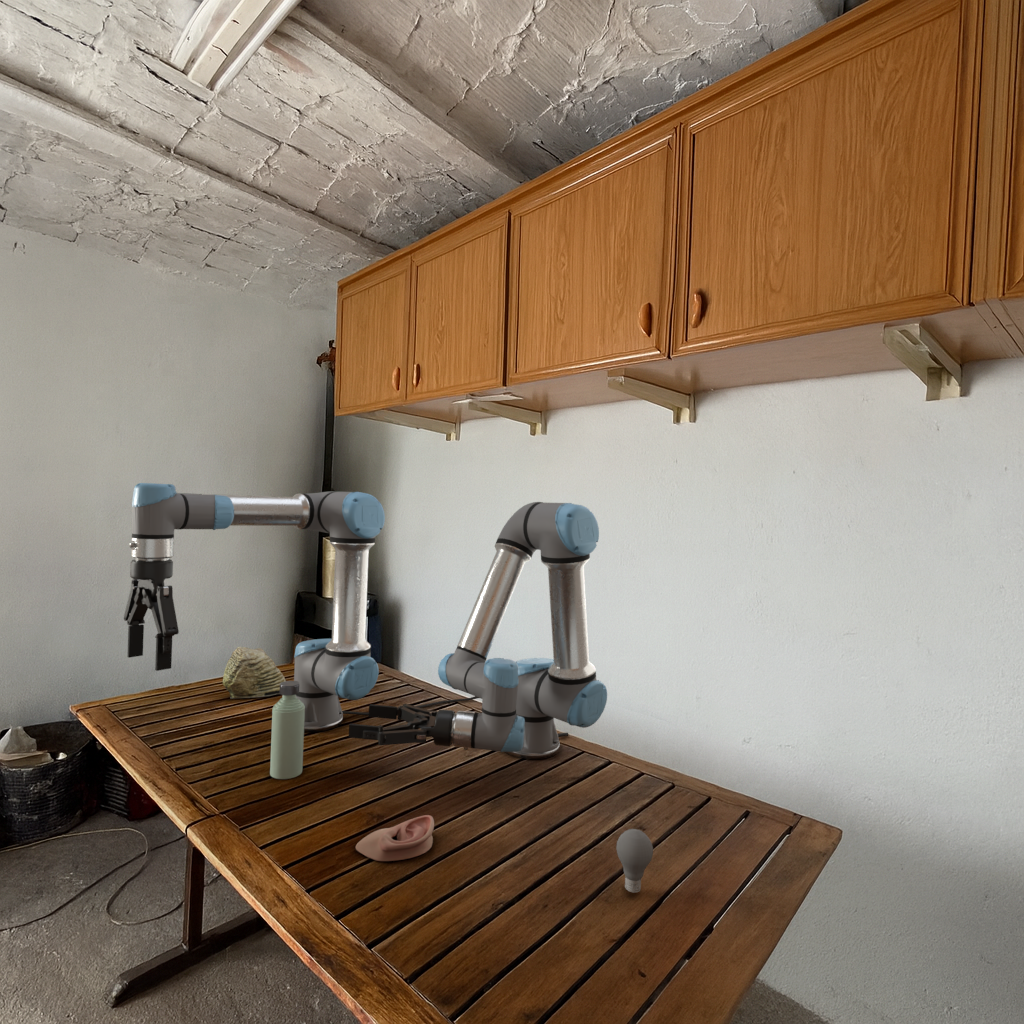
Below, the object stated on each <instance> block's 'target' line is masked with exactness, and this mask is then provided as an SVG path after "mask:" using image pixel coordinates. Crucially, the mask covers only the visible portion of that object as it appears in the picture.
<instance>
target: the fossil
mask: <svg viewBox="0 0 1024 1024" xmlns="http://www.w3.org/2000/svg"><path fill="white" fill-rule="evenodd" d="M222 676H223V677H222V685H223V687H224V688H225V690H226V691H228V693H229V698H230V699H250V698H264V697H271V696H275V695H281V694H280V693H279V692H280V683H281V682H284V681H287V680H286V678H285V676H284V674H283V673H282V672H281V669H279V668H278V667H277V665H276V663H275V662H274V660H273V659H272V658H271V657H270V656H269V655H268V654H267V653H266V652H265V650H264V649H263V648H260V647H258V648H251V647H247V646H246V647H245V646H238V647H237V648H236V649H235V650H233V651H232V653H231V656H230V657H229V659H228V660H227V663H226V666H225V668H224V671H223V675H222Z"/></svg>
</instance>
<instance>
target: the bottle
mask: <svg viewBox="0 0 1024 1024" xmlns="http://www.w3.org/2000/svg"><path fill="white" fill-rule="evenodd" d="M271 710H272V711H271V733H270V734H271V737H270V738H271V740H270V765H269V766H270V767H269V775H270V777H271V778H274V779H276V780H288V779H289V780H290V779H293V778H296V777H298V776H300V775H301V774H302V773H303V767H304V766H303V765H304V740H305V739H304V738H305V732H304V716H305V706H304V704H303V703H302V702H301V701H300V700H299V699H297V697H296V695H289V696H286V695H282V697H281V698H280V699H279V700H278V701H277V702H276V703H275V704H274V705H273V707H272V708H271Z"/></svg>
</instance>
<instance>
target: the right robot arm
mask: <svg viewBox="0 0 1024 1024" xmlns="http://www.w3.org/2000/svg"><path fill="white" fill-rule="evenodd" d="M599 539H600V528H599V523H598V520H597V518H596V516H595V514H594V513H593V511H591V510H590V509H589V508H588V507H587V506H585V505H583V504H575V503H572V502H543V501H533V502H529V503H527V504H525V505H523V506H521V507H519V509H517V510H516V511H515V512H514V513H512V515H511V516H510V517H509V519H508V520H507V521H506V523H505V524H504V526H503V527H502V529H501V531H500V533H499V535H498V537H497V539H496V541H495V544H494V548H495V550H496V552H495V555H494V557H493V559H492V562H491V564H490V566H489V569H488V571H487V573H486V576H485V577H484V580H483V583H482V586H481V588H480V591H479V593H478V595H477V598H476V600H475V602H474V604H473V607H472V609H471V612H470V614H469V617H468V619H467V622H466V624H465V626H464V629H463V632H462V633H461V636H460V639H459V641H458V643H457V647H456V648H455V650H454V652H453V653H451V652H450V653H447V654H445V656H444V657H443V658H442V659H441V660H440V662H439V664H438V669H437V674H438V679H439V680H440V681H441V682H442V683H443V684H445V685H446V686H448V687H450V688H452V689H453V690H457V691H460V692H462V693H463V692H464V693H466V694H469V695H471V696H472V697H475V696H476V697H478V698H477V699H481V712H475V711H467V710H458V711H456V712H455V711H454V710H451V709H439V710H430V709H427V708H424V707H423V708H419V707H416V706H417V705H412V704H408V703H403V704H402V705H398V706H396V705H395V706H394V705H393V706H392V705H381V704H372V703H371V704H369V705H368V712H369V715H367V716H368V718H375V719H385V720H386V719H387V720H397V722H398V721H403V722H407V723H406V724H401V725H400V724H399V725H393V726H388V727H384V726H383V725H381V724H379V725H371V724H358V723H349V725H348V739H349V738H350V739H362V740H370V741H371V740H372V741H377V742H378V746H391V745H392V746H393V745H404V744H405V745H406V744H427V738H433V744H434V745H435V746H439V747H451V746H452V745H453V746H454V748H463V750H465V751H466V750H469V749H477V750H484V751H494V752H500V753H506V754H507V755H509V756H513V757H515V758H519V759H525V760H526V759H527V760H542V759H548V758H551V757H553V756H556V755H557V754H558V753H559V752H560V744H561V743H560V738H563V737H569V732H560V733H559V732H558V731H557V728H556V723H555V720H559V721H562V722H564V723H566V724H568V725H570V726H575V727H579V728H581V729H584V728H585V729H586V728H589V727H591V726H593V725H595V723H596V722H598V720H600V718H601V716H602V714H603V713H604V711H605V708H606V705H607V701H608V690H607V686H606V685H605V684H604V683H603V682H602V681H601V680H599V679H597V668H596V666H595V665H594V664H593V663H592V662H591V661H590V654H589V652H590V651H589V634H588V617H587V600H586V599H587V597H586V581H585V579H586V578H585V566H586V564H587V563H588V562H589V561H590V560H591V553H593V552H594V551H595V550H596V548H597V546H598V545H597V543H599ZM537 550H539V551H540V561H541V563H542V564H543V565H545V566H546V568H547V575H548V590H549V606H550V622H551V637H552V638H551V639H552V656H553V657H552V658H550V657H549V658H548V657H530V658H522V659H519V660H516V661H515V660H513V659H510V658H504V657H492V658H488V655H489V653H490V651H491V649H492V645H493V643H494V641H495V638H496V635H497V633H498V631H499V629H500V626H501V623H502V621H503V618H504V616H505V614H506V611H507V609H508V606H509V603H510V601H511V598H512V596H513V593H514V592H515V589H516V586H517V584H518V581H519V579H520V576H521V574H522V571H523V569H524V566H525V564H526V563H528V562H530V561H531V560H532V557H533V555H534V553H535V552H536V551H537ZM487 658H488V659H487Z"/></svg>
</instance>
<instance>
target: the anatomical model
mask: <svg viewBox="0 0 1024 1024" xmlns="http://www.w3.org/2000/svg"><path fill="white" fill-rule="evenodd" d="M434 829H435V820H434V817H433V816H432V815H429V814H425V815H420V816H417V817H414V818H411V819H408V820H405V821H402V822H401V823H398V824H396V825H394V826H391V827H384V828H380V829H377V830H374V831H373V832H370V833H369V834H367V835H366V836H365V837H363V838H362V839H360V840H359V841H358V842H357V844H356V845H355V851H357V852H358V853H360V854H362V855H364V857H366V858H369V859H371V860H373V861H377V862H392V861H393V862H395V861H401V860H407V859H412V858H416V857H418V856H421V855H423V854H425V853H427V852H428V851H430V849H431V848H432V847H433V843H434V838H433V837H434V836H433V832H434Z"/></svg>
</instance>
